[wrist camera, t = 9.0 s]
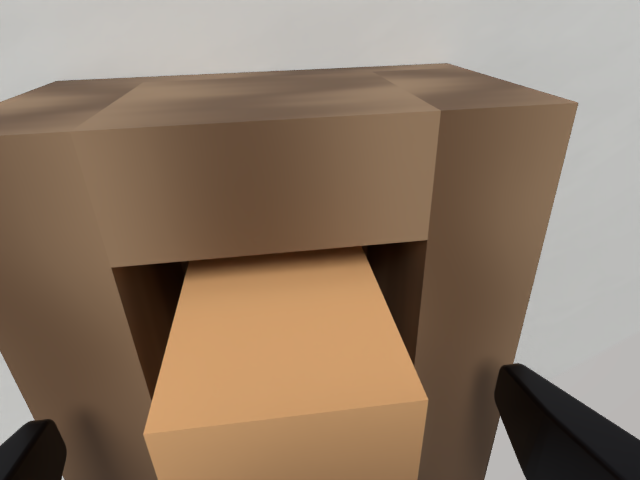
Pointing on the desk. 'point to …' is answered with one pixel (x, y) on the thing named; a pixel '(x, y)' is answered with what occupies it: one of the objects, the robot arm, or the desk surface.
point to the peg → (285, 374)
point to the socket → (269, 229)
